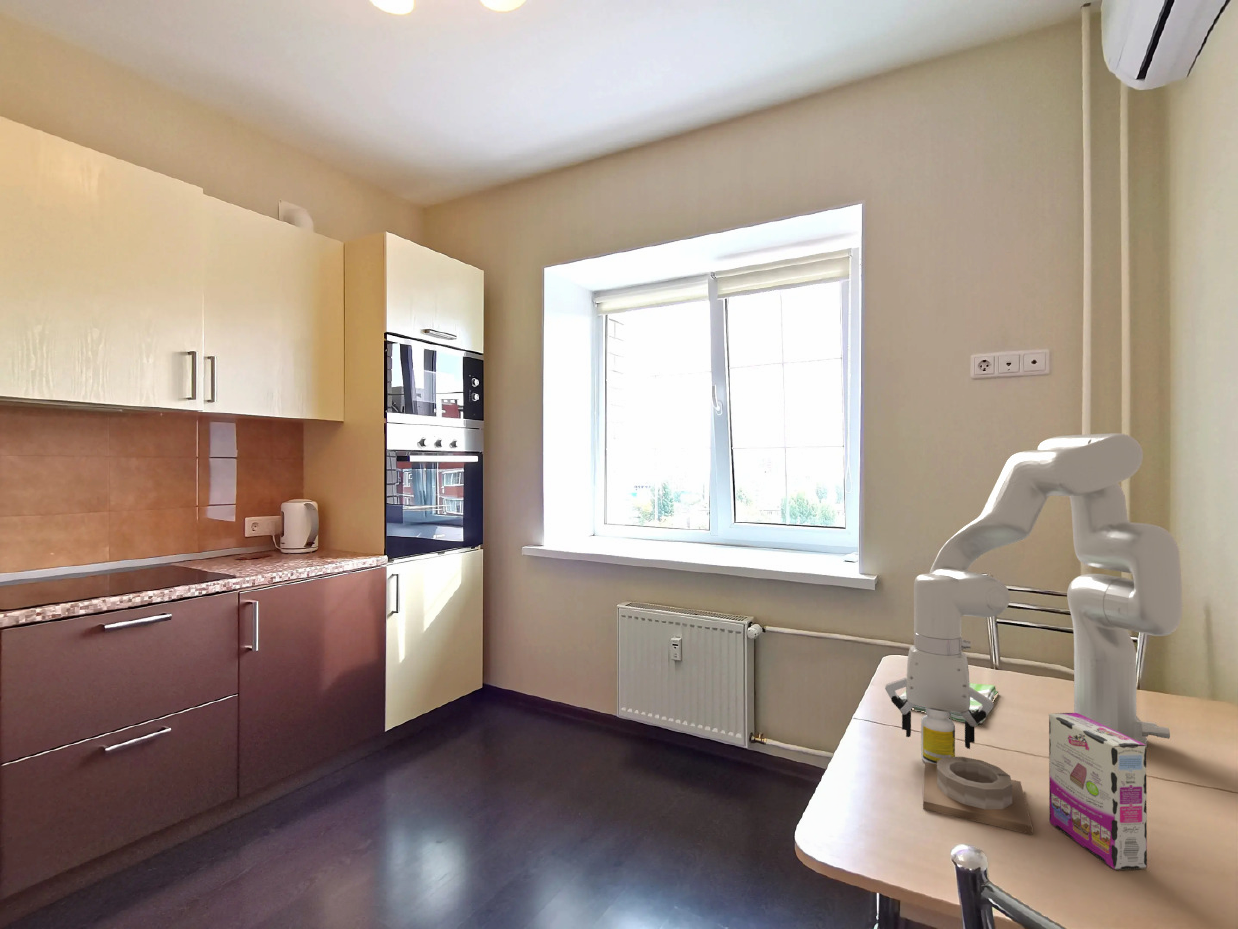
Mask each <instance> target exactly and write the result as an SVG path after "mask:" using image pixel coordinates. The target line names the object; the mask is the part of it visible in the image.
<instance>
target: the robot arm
mask: <svg viewBox="0 0 1238 929" xmlns="http://www.w3.org/2000/svg"><path fill="white" fill-rule="evenodd" d="M1143 453H1144V452H1143V449H1142V446H1141V444H1140V443H1139V442H1138V440H1137V439H1135V438H1134V437H1133V436H1130V435H1128V434H1126V433H1121V432H1119V433H1118V432H1117V433H1116V432H1115V433H1114V432H1113V433H1109V432H1108V433H1094V434H1091V433H1090V434H1089V433H1088V434H1072V435H1071V434H1070V435H1058V436H1054V437H1050V438H1047V439H1045V440H1043V441H1042V442H1040V443H1039V445H1038V446H1037V448H1036V449H1033V450H1031V449H1030V450H1023V451H1020V452H1016V453H1014V454H1012V455H1011V456H1010V457H1009V458H1008V459H1007V460H1006V462H1005V464H1004V466H1003V468H1002V470H1001V473H1000V474H999V476H998V479H997V480H996V482H995V484H994V486H993V489H992V490H991V493H990V495H989V497H988V499H987V501H986V502H985V505H984V506H983V509H982V511H981V513H980V514H979V516H978V517H977V518H975V519H973V520H972V521H971V522H969V523H968V524H966V525H965V526H964V527H963V528H961V529H960V530H959V531H957V532H956V533H955V534H954V535H953V536H952V537H950V538H949V539H948V540H947V541H946V542H945V543H944V545H943V546H942V547H941V549H939V551H938V553H937V555H936V558H935V559H934V562H933V564H932V566H931V568H930V570H929V572H928V573H922V574H919V575H917V576H916V577H915V579H914V583H913V584H914V585H913V603H914V604H913V623H914V624H913V640H914V641H913V645H911V646H909V650H908V655H907V665H906V677H903V678H901V679H898V680H895V681H892V682H889V683H887V684H885V688H884V689H885V691H886V694H888V696H889V698H890V701H891V703H893V705H894V706H895V707H896V708H897V709H898V710H899V712H900V714H901V730H904V731H905V737H906V738H910V737H911V734H912V710H911V709H912V708H913V707H914V706H915V705H916V706H921V707H926V708H932V709H938V710H944V711H950V712H956V713H961V715H962V716H963V717H964V718H965V720H966V721H965V722H964V746H965V748H966V749H968V750H970V749H971V743H972V744H974V743H975V734H976V733H975V730H976V728H975V727H977V726H976V725H977V723H979V722H980V721H982V720H983V719H985V720H986V718H987V717H988V715H989V713H990V712H991V711H992V709H994V707H995V705H994V703H993V702H992V701H991V700H990V699H988V698H987V697H985V696H984V695H982V694H980V693H979V692H977V691H976V690H974V689H973V688H971V687H970V683H971V682H970V671H969V663H968V658H967V655H966V653H965V652H963V651H964V650H967V649H968V650H971V647H972V644H971V640H966V639H964V638H962V617H964V616H966V617H976V618H993V617H995V616H998V615H1001V614H1002V613H1003V612H1005V611H1006V610H1007V608H1008V607H1009V604H1010V601H1011V595H1010V590H1009V589H1008V588H1007V586H1006V585H1005V583H1003V582H1002V581H1001V580H999V579H998V578H996V577H993V576H991V575H988V574H987V575H986V574H983V573H978V572H974V571H969V568H970V567H971V565H973V563H974V562H976V560H977V559H978V558H980V557H981V556H983V555H984V554H986V553H988V552H990V551H993V550H995V549H999V548H1002V547H1005V546H1009V545H1011V544H1015V543H1018V542H1021V541H1023V540H1025V539H1026V538H1028V537H1029V536H1031V534H1032V532H1033V529H1034V527H1035V525H1036V522H1037V521H1038V519H1039V517H1040V514H1041V512H1042V510H1043V508H1044V506H1045V504H1046V503H1047V502H1046V501H1047V500H1048V498H1049V497H1050V496H1051V497H1052V496H1055V497H1057V496H1058V497H1069V500H1070V509H1071V522H1072V524H1071V525H1072V536H1073V537H1072V539H1073V548H1074V554H1075V557H1076V558H1077V560H1078V561H1079V562H1080V563H1082V564H1084V565H1086V566H1089V567H1093V568H1097V569H1102V570H1108V571H1115V572H1120V573H1128V574H1131V575H1132V576H1131V577H1132V578H1127V577H1121V576H1115V575H1109V574H1102V573H1085V574H1081V575H1079V576H1076V577H1075V578H1073V579H1072V580H1071V582H1070V583H1069V585H1068V587H1067V593H1066V596H1067V604H1068V609H1069V611H1070V612H1069V613H1070V617H1071V620H1072V622H1071V623H1072V630H1073V631H1072V632H1073V675H1074V678H1073V680H1074V682H1073V683H1074V684H1073V685H1074V686H1073V687H1074V688H1073V690H1074V691H1073V692H1074V693H1073V695H1074V699H1073V700H1074V709H1073V710H1074V712H1073V713H1079V714H1081V715H1083V716H1085V717H1087V718H1089V719H1092V720H1094V721H1096V722H1098V723H1100V724H1102V725H1104V726H1107V727H1109V728H1111V729H1113V730H1115V731H1117V732H1120V733H1122V734H1124V735H1126V736H1128V737H1130V738H1132V739H1134V740H1136V741H1139V742H1141V743H1143V744H1145V745H1147V746H1148V737H1149V736H1154V737H1157V738H1163V739H1170V738H1171V732H1170V729H1169V727H1165V726H1157V723H1156V722H1149V721H1142V720H1141V719H1140V718H1139V717H1138V716H1137V651H1136V647H1135V643H1134V641H1133V639H1132V637H1131V635H1130V633H1129V632H1128V631H1131V632H1135V633H1140V634H1144V635H1149V636H1154V637H1164V636H1169V635H1171V634H1173V633H1174V632H1175V631H1177V629H1178V628H1179V626H1180V624H1181V621H1182V616H1183V592H1182V574H1181V571H1182V570H1181V557H1180V549H1179V546H1178V544H1177V541H1176V540H1175V538H1174V537H1173V535H1172V533H1170V532H1169V531H1168V530H1167V529H1165V528H1164V527H1162V526H1159V525H1155V524H1151V523H1145V522H1144V523H1141V522H1130V520H1129V517H1128V513H1127V511H1128V510H1127V503H1126V502H1127V501H1126V496H1125V492H1124V490H1123V488H1122V486H1121V485H1120V484H1119V483H1121V482H1123V481H1125V480H1129V478H1131V477H1133V476H1134V475H1135V474H1136V473H1137V472H1138V470H1139V469H1140V467H1141V466H1142V463H1143V459H1144V454H1143ZM903 688H905V691H906V697H907V699H906V700H905V701H904V702H903V700H902V699H901V698H900V697H899V696H900V695H898V694H897V691H898V690H901V689H903ZM970 697H971V698H973V699H974V700H976V701H977V702H979V703H981V704H982V706H981V708H980V709H978V710H977V711H975V712H974V713H972V712H971V710H970V709H969V708H970ZM986 716H987V717H986ZM979 724H980V723H979Z"/></svg>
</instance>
